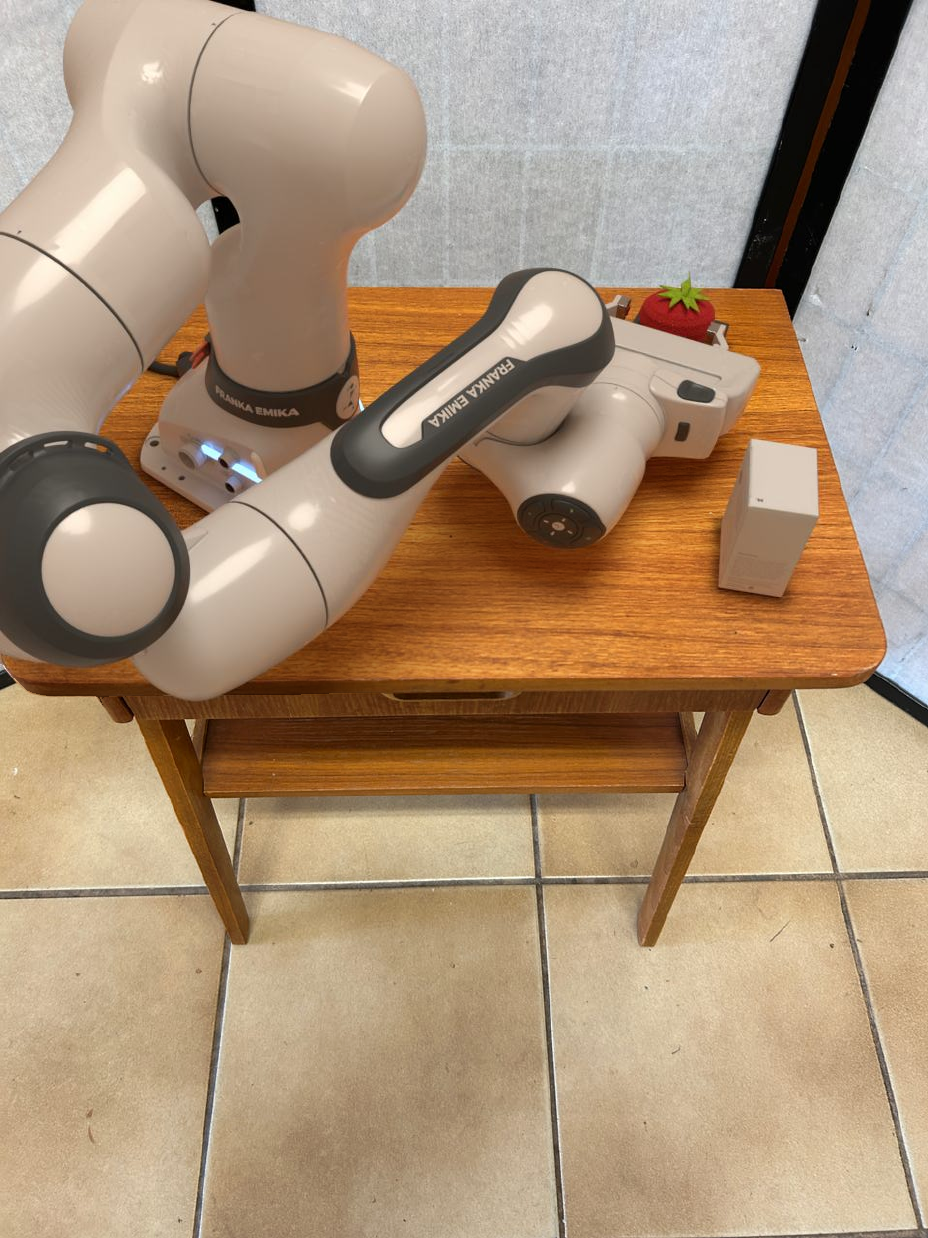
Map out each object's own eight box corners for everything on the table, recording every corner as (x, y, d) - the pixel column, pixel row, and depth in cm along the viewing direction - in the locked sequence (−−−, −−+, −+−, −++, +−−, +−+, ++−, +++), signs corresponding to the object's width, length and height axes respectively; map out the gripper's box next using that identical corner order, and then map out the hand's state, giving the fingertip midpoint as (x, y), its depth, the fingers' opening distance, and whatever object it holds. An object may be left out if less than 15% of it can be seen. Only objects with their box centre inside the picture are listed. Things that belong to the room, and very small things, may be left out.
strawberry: (630, 339, 101) (646, 254, 93) (701, 345, 100) (724, 260, 92) (629, 375, 97) (647, 291, 89) (703, 382, 97) (728, 298, 89)
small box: (781, 600, 82) (821, 518, 73) (715, 588, 82) (747, 506, 74) (782, 531, 86) (819, 446, 78) (720, 520, 87) (750, 435, 78)
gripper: (512, 396, 89) (566, 313, 97) (724, 464, 85) (763, 371, 92) (517, 341, 84) (572, 257, 91) (742, 411, 79) (782, 317, 87)
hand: (670, 315), depth 92 cm, fingers open, 8 cm apart
